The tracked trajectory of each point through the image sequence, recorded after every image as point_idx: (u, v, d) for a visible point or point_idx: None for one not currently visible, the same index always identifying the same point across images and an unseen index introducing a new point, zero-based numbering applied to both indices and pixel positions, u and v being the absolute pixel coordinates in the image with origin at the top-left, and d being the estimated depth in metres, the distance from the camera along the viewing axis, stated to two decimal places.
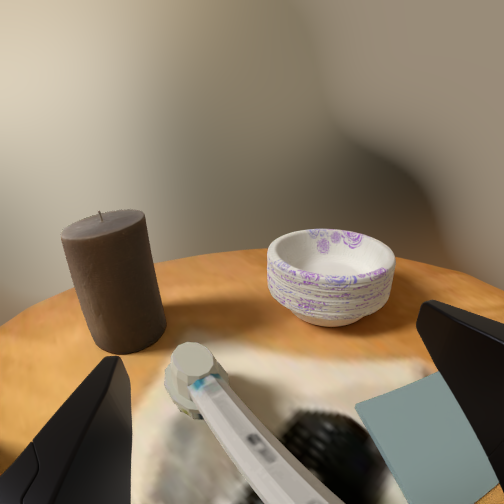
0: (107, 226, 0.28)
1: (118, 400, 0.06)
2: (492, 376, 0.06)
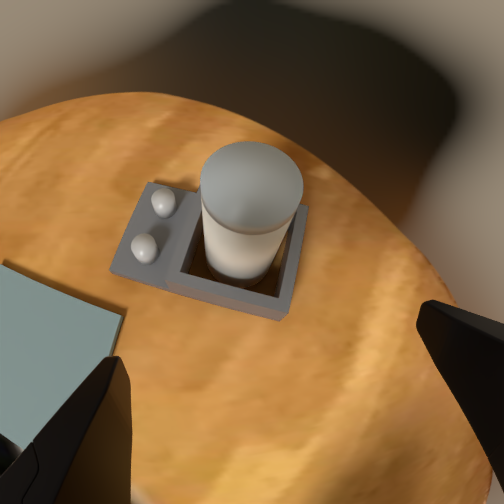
0: None
1: (118, 400, 0.06)
2: (492, 376, 0.06)
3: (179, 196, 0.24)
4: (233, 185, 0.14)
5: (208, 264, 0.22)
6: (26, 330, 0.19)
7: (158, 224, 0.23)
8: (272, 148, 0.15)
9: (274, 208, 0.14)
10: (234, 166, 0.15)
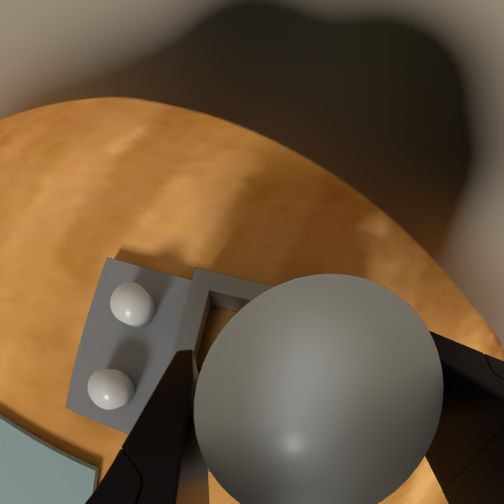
0: None
1: None
2: (444, 405, 0.05)
3: (158, 286, 0.14)
4: (289, 435, 0.05)
5: None
6: None
7: (128, 337, 0.13)
8: (380, 292, 0.06)
9: (384, 472, 0.04)
10: (288, 372, 0.05)
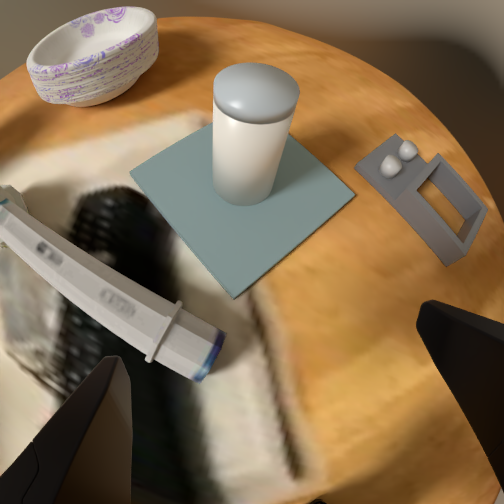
0: None
1: (118, 400, 0.06)
2: (492, 377, 0.06)
3: None
4: (241, 87, 0.16)
5: (215, 183, 0.23)
6: None
7: None
8: (272, 67, 0.17)
9: (276, 102, 0.15)
10: (241, 76, 0.16)
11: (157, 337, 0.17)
